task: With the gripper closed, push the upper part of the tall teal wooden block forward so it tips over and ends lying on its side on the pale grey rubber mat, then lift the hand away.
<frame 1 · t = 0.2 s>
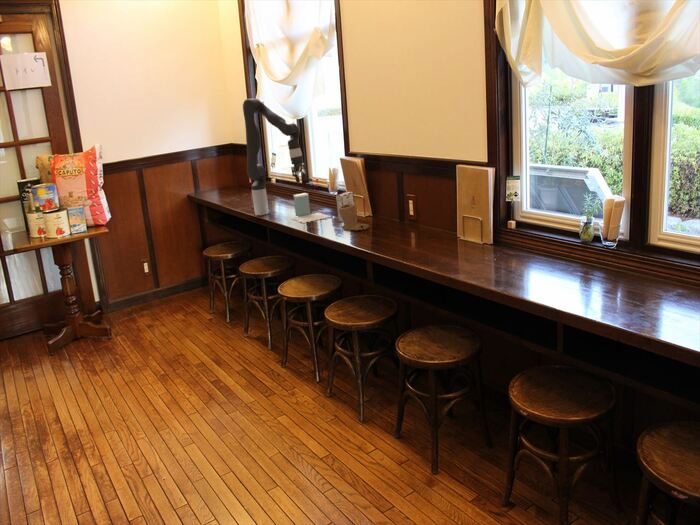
hand: (301, 181, 393), 23 cm above the table, tool pointing down, fingers open, 8 cm apart
teal block: (303, 215, 401), on the table
candy bar box: (346, 220, 379), on the table
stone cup: (353, 230, 354), on the table
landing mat: (311, 218, 392), on the table
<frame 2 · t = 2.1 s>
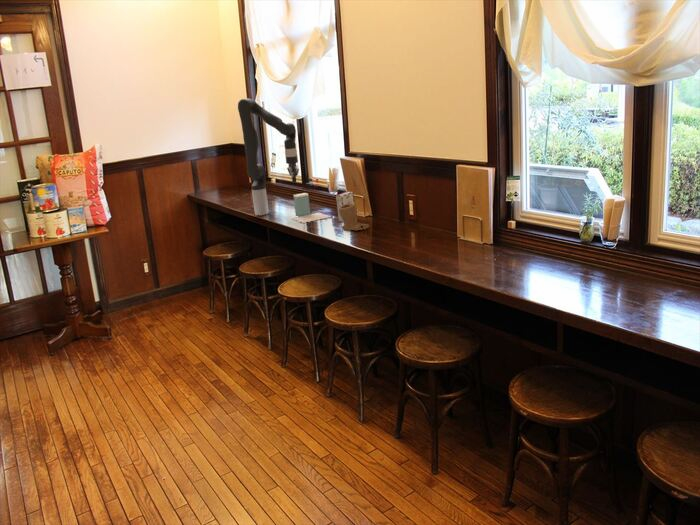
hand: (294, 182, 402), 21 cm above the table, tool pointing down, fingers closed
nothing on the table moved.
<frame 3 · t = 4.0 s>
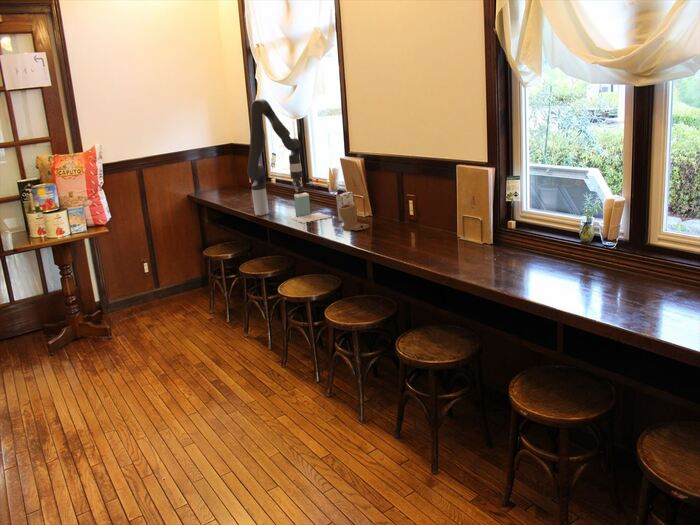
hand: (299, 197, 401), 12 cm above the table, tool pointing down, fingers closed
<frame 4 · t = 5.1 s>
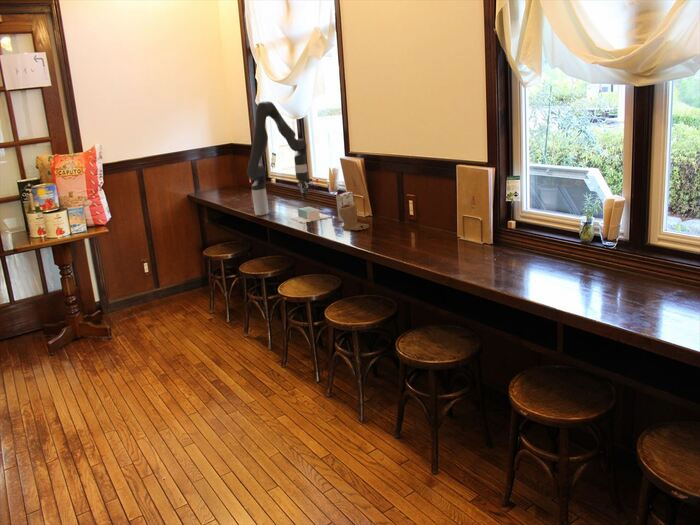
hand: (304, 198, 394), 12 cm above the table, tool pointing down, fingers closed
teal block: (303, 211, 399), point 3 cm above the table, tilted 90°, touching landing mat
everything else where it was.
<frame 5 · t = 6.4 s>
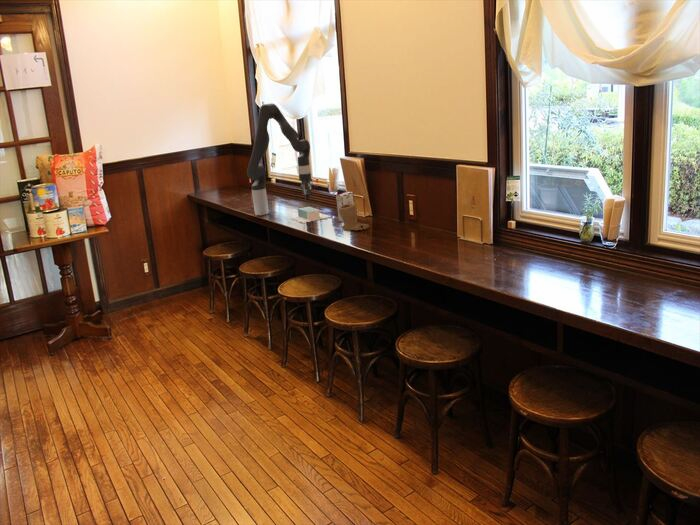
hand: (307, 199, 391), 12 cm above the table, tool pointing down, fingers closed
nothing on the table moved.
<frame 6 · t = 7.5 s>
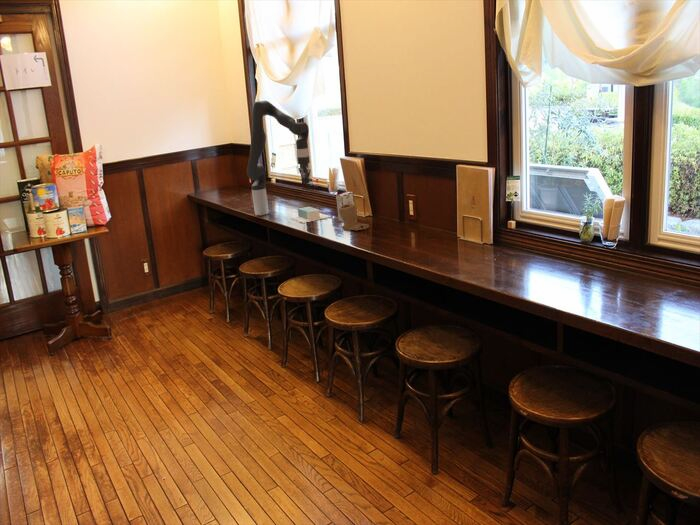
hand: (305, 183, 387), 22 cm above the table, tool pointing down, fingers closed
nothing on the table moved.
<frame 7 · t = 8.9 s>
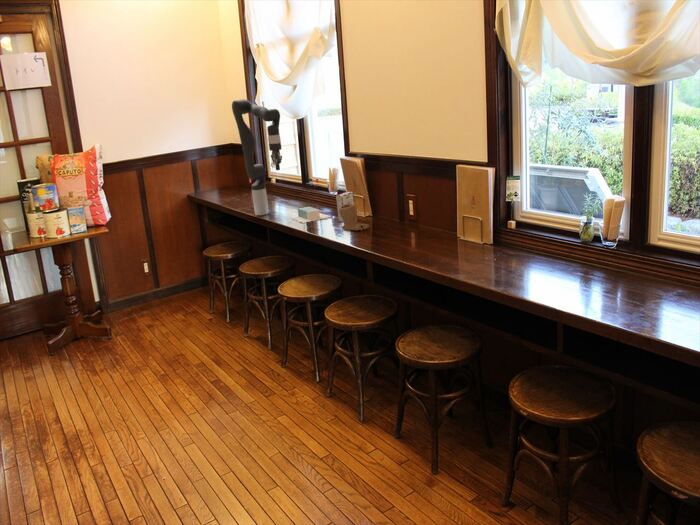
hand: (277, 170, 390), 31 cm above the table, tool pointing down, fingers closed
nothing on the table moved.
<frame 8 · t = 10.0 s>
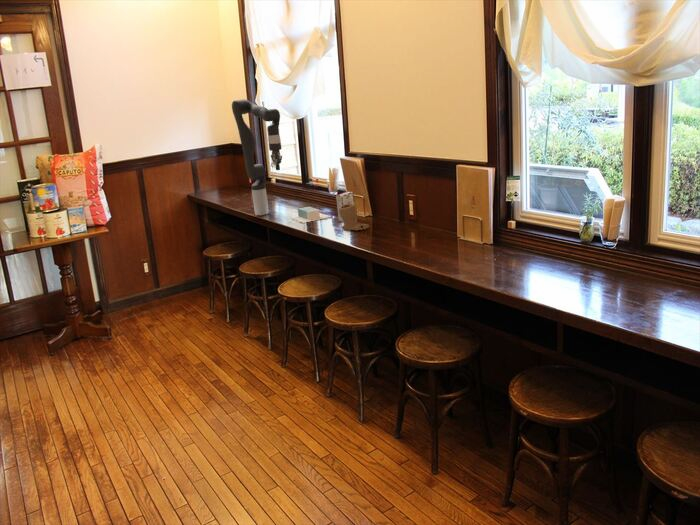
hand: (277, 170, 390), 31 cm above the table, tool pointing down, fingers closed
nothing on the table moved.
at the end: teal block tilted 90°; teal block touching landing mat; teal block inside the target area (4.7 cm from its centre), point 3.1 cm above the table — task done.
